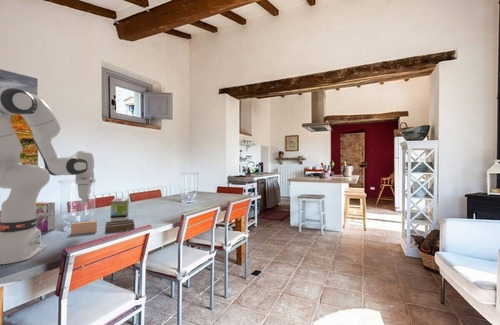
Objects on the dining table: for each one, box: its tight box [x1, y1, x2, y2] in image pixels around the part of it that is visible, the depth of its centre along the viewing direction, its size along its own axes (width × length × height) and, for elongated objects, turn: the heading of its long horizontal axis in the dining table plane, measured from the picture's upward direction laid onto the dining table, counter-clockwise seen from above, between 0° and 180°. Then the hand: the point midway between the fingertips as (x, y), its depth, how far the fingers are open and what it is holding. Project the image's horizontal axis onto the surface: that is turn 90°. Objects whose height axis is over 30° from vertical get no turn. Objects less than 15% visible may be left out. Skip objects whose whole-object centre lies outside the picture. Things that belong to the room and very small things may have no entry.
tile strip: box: [70, 220, 98, 235], centre depth 136 cm, size 2×12×6 cm, turn 119°
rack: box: [104, 219, 135, 234], centre depth 145 cm, size 12×15×4 cm
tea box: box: [109, 197, 130, 222], centre depth 165 cm, size 15×10×15 cm, turn 24°
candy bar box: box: [35, 201, 56, 232], centre depth 140 cm, size 11×5×16 cm, turn 84°
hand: (85, 203), depth 137 cm, fingers open, 8 cm apart
